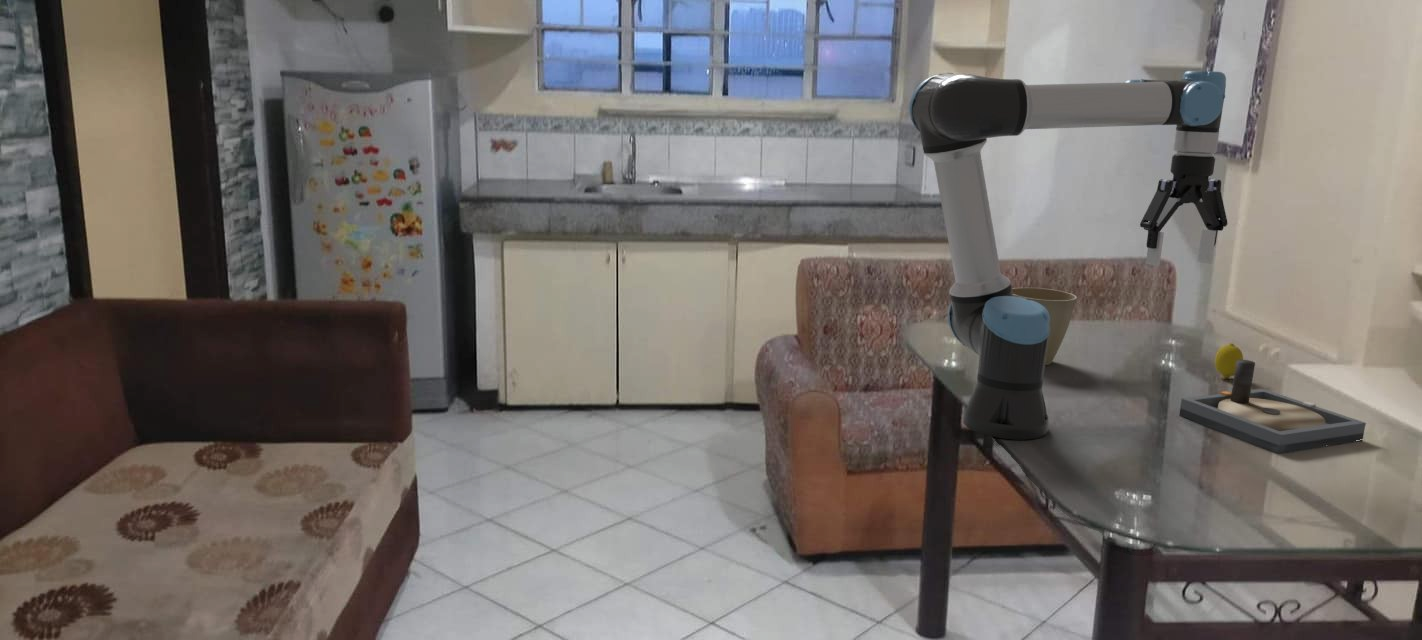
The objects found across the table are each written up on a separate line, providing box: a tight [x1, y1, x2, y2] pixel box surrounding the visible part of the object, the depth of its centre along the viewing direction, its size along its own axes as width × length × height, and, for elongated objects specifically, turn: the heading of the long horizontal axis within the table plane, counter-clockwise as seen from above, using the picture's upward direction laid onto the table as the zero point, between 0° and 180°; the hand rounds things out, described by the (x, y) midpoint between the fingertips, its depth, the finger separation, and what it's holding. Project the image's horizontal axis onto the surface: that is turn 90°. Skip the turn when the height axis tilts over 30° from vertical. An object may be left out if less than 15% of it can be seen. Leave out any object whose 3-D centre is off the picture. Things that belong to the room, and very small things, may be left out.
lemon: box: [1214, 343, 1244, 379], centre depth 231 cm, size 6×6×8 cm
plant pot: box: [1012, 287, 1078, 366], centre depth 238 cm, size 15×15×16 cm
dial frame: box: [1178, 388, 1367, 455], centre depth 198 cm, size 22×22×4 cm
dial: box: [1218, 359, 1325, 431], centre depth 197 cm, size 18×18×10 cm
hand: (1178, 263), depth 204 cm, fingers open, 13 cm apart
